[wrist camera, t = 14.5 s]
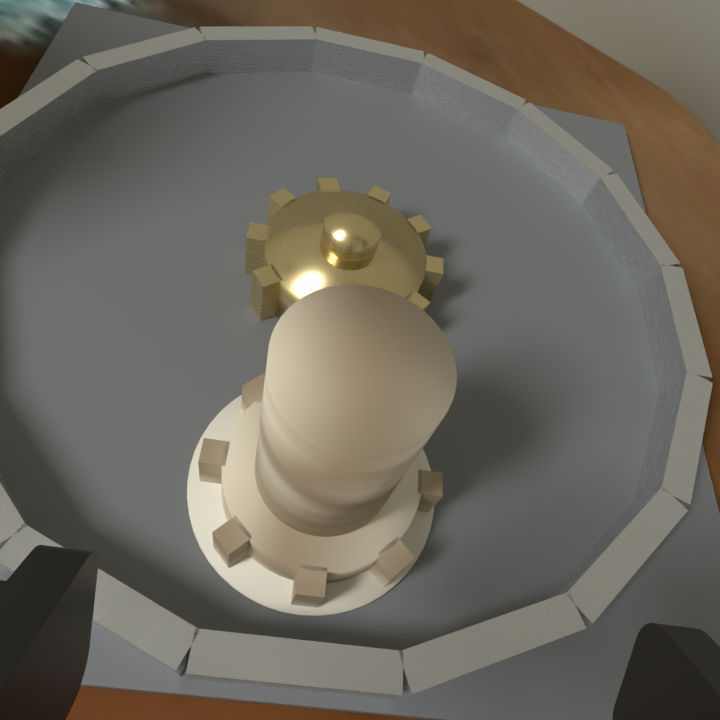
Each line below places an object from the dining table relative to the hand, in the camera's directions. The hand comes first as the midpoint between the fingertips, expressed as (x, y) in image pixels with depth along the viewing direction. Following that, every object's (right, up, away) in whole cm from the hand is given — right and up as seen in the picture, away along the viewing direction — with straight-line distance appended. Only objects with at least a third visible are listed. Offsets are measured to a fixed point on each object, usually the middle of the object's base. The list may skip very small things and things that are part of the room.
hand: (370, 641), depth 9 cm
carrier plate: (-1, +7, +20) cm, 22 cm away
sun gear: (-1, +7, +20) cm, 22 cm away
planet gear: (-2, -1, +14) cm, 14 cm away
